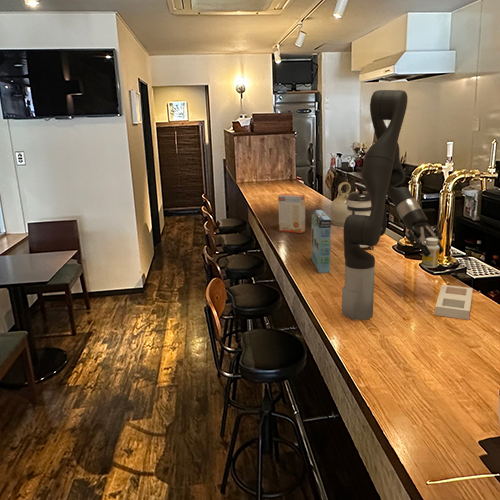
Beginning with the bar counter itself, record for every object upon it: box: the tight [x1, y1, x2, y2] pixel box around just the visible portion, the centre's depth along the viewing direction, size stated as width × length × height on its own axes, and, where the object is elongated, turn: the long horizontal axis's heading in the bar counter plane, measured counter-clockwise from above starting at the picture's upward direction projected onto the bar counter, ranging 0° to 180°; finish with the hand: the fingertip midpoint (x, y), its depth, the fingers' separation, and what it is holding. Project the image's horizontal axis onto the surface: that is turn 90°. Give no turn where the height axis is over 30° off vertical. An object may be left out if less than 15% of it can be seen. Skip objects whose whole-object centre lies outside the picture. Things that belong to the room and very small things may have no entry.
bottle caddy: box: [434, 284, 473, 321], centre depth 156 cm, size 21×10×3 cm, turn 153°
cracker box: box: [277, 193, 306, 234], centre depth 260 cm, size 14×6×21 cm, turn 58°
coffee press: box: [344, 186, 388, 251], centre depth 222 cm, size 17×16×30 cm
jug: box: [330, 181, 352, 227], centre depth 271 cm, size 15×16×25 cm
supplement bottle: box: [421, 238, 440, 269], centre depth 160 cm, size 5×5×10 cm
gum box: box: [310, 209, 332, 274], centre depth 199 cm, size 20×5×23 cm, turn 2°
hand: (435, 254), depth 159 cm, fingers closed on supplement bottle, 5 cm apart
